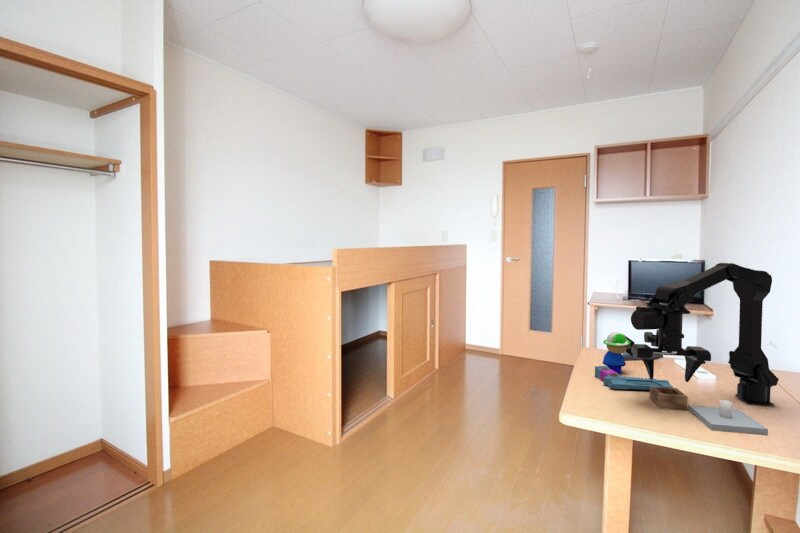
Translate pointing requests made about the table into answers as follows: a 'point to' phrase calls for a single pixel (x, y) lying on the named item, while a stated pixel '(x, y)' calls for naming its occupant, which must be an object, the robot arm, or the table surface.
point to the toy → (617, 351)
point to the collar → (668, 398)
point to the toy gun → (626, 380)
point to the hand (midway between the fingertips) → (668, 380)
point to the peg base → (727, 418)
